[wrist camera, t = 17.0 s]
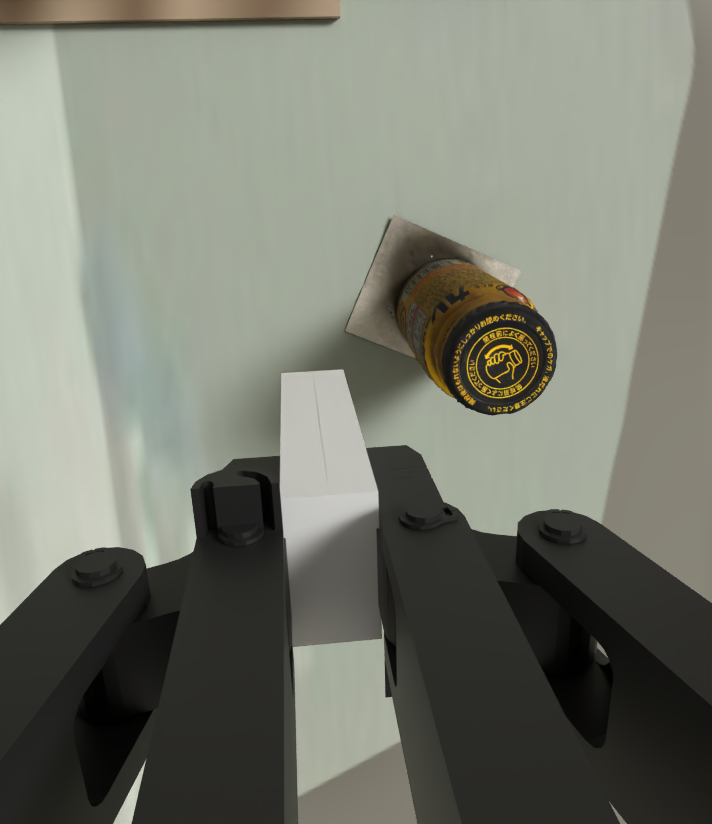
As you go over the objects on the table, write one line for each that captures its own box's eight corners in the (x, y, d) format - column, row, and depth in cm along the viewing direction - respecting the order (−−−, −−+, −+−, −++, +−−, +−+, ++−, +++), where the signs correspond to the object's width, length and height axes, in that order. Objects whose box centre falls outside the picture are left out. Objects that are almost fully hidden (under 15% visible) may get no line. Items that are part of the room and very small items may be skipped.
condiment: (467, 378, 43) (532, 454, 32) (344, 330, 41) (366, 393, 30) (520, 270, 41) (609, 310, 30) (392, 214, 39) (436, 235, 28)
